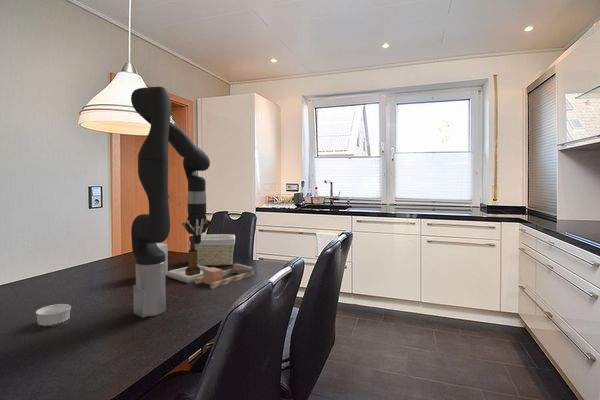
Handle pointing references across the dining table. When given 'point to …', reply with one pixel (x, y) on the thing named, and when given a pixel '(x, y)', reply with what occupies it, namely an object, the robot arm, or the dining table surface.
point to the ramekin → (53, 314)
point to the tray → (181, 275)
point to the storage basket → (215, 249)
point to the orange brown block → (212, 275)
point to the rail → (237, 268)
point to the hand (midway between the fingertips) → (197, 243)
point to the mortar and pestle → (192, 260)
